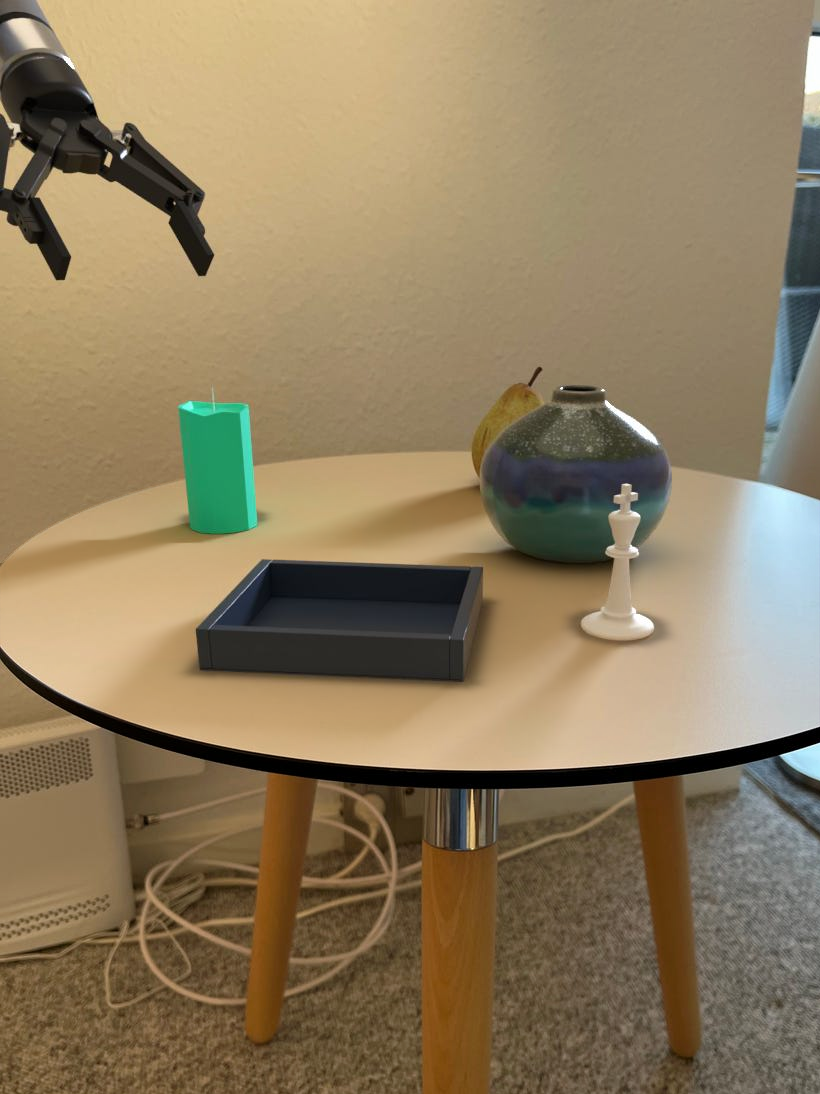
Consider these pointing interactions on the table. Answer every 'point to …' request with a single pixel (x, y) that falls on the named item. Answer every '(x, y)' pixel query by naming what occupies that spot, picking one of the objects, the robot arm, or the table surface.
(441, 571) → the tray
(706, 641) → the table surface
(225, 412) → the candle
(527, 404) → the fruit
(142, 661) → the table surface
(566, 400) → the vase
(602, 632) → the chess piece
